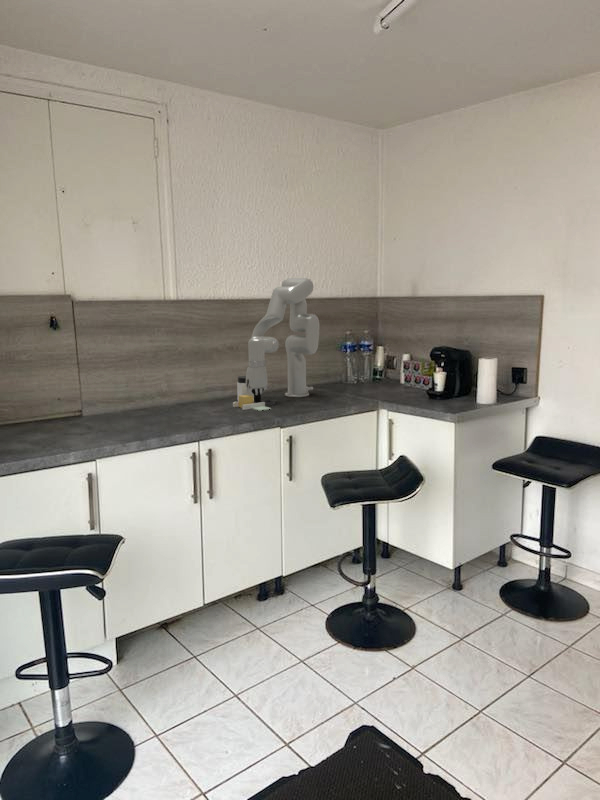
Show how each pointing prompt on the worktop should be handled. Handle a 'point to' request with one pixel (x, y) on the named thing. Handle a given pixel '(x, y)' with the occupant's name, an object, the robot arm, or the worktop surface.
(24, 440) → the worktop surface
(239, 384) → the jar
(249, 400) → the block
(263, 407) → the coaster
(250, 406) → the channel
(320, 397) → the worktop surface
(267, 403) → the tray
